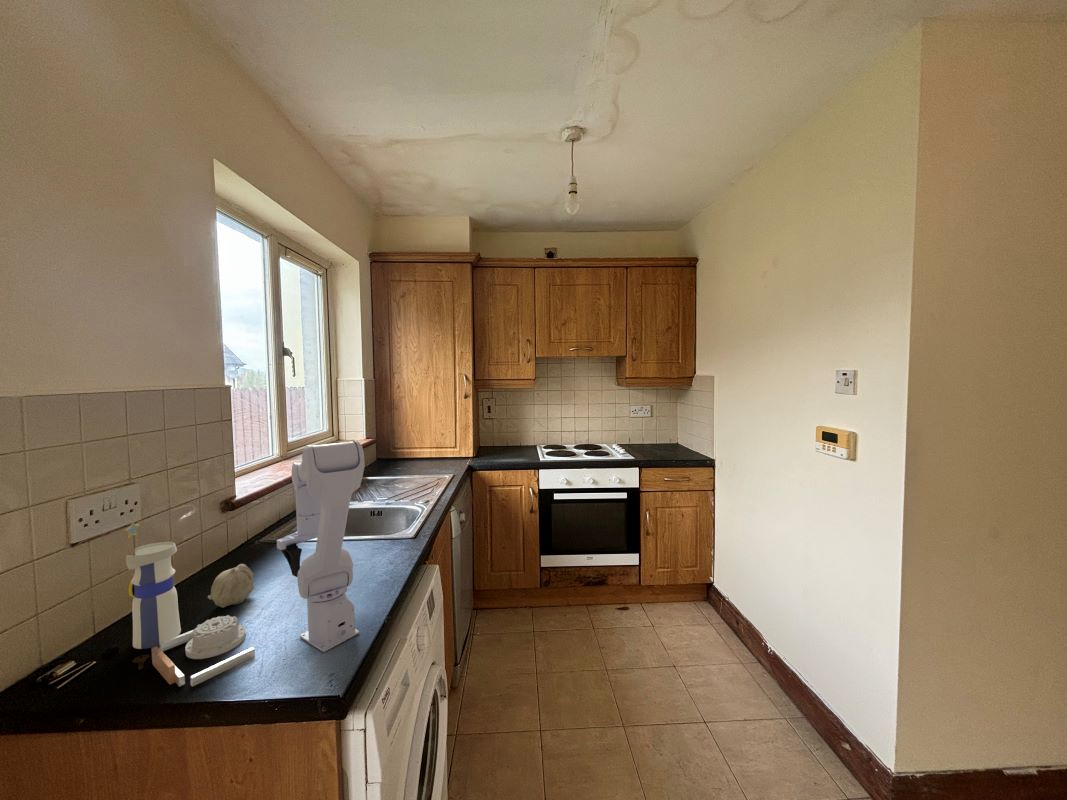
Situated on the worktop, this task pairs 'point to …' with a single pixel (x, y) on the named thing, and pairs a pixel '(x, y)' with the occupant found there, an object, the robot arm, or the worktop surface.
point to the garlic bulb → (232, 586)
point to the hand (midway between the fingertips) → (312, 569)
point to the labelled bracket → (176, 675)
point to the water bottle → (153, 593)
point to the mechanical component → (215, 637)
